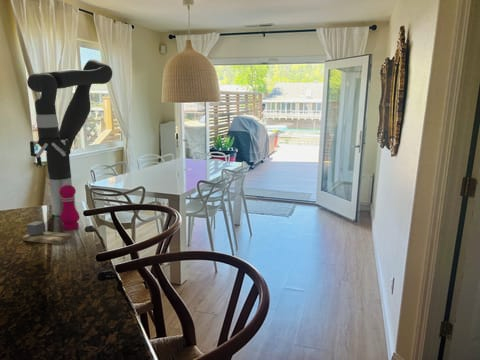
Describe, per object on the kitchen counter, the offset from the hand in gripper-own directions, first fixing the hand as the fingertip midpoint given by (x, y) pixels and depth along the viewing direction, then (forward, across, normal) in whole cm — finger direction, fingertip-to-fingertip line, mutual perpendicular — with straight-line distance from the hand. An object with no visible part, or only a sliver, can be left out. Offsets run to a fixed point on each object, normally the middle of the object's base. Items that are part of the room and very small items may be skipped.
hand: (52, 165), depth 144 cm
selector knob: (+24, -7, -13) cm, 28 cm away
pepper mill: (+26, +4, -6) cm, 27 cm away
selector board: (+26, -4, -16) cm, 30 cm away
